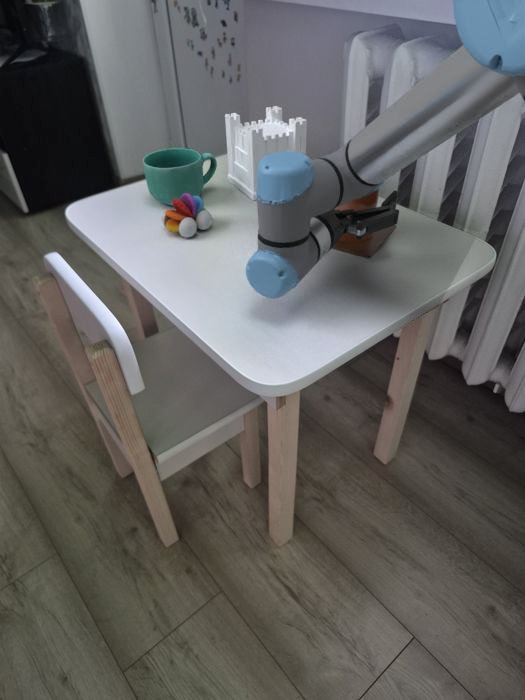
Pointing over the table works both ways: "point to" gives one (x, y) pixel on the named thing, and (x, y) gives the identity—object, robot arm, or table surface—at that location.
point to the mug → (176, 173)
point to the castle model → (259, 145)
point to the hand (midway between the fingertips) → (361, 190)
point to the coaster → (365, 243)
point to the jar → (356, 205)
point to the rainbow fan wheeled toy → (187, 216)
